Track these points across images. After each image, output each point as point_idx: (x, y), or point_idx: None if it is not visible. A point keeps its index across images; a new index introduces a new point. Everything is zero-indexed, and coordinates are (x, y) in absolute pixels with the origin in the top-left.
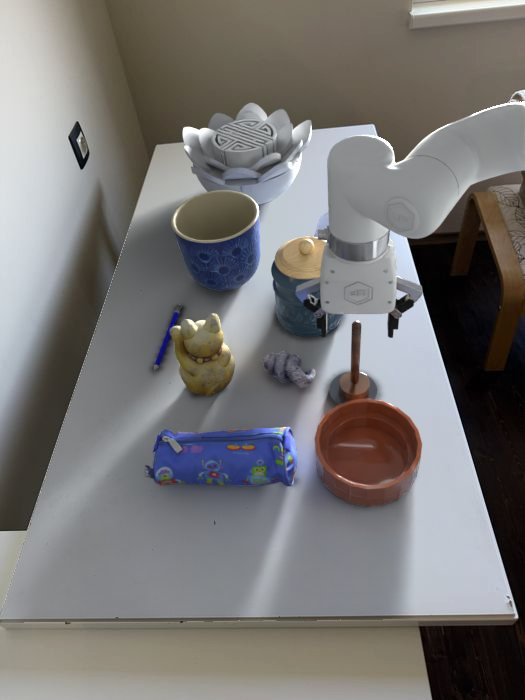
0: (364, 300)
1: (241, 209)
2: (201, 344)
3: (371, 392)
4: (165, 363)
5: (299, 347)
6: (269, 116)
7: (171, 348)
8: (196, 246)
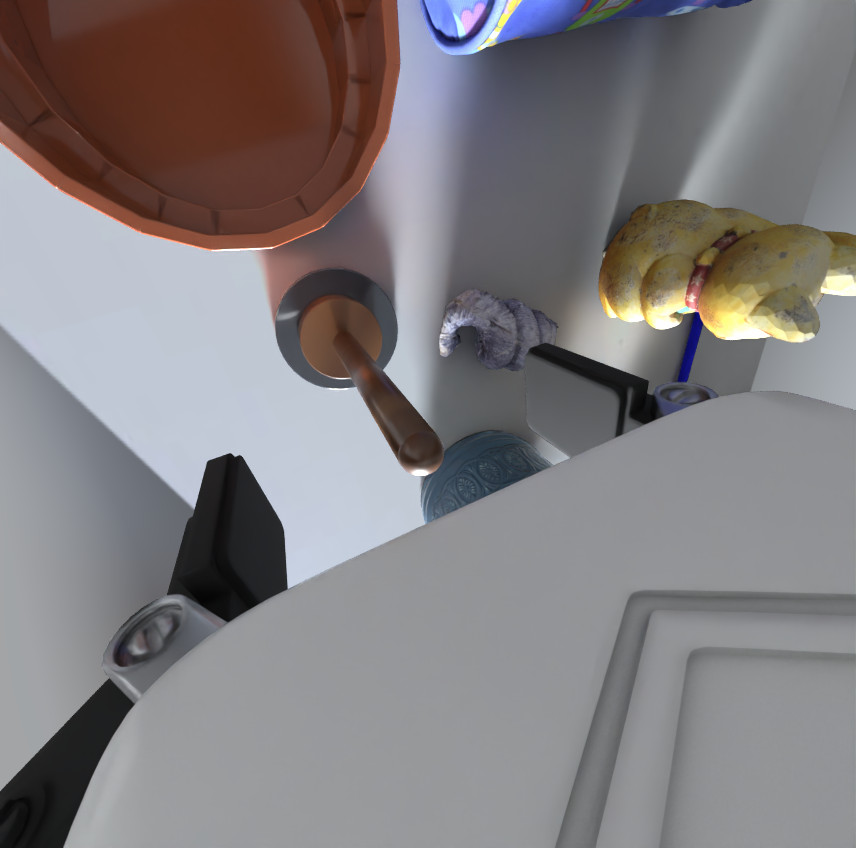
0: (651, 779)
1: None
2: (804, 239)
3: (292, 339)
4: None
5: (480, 406)
6: None
7: (683, 322)
8: None
